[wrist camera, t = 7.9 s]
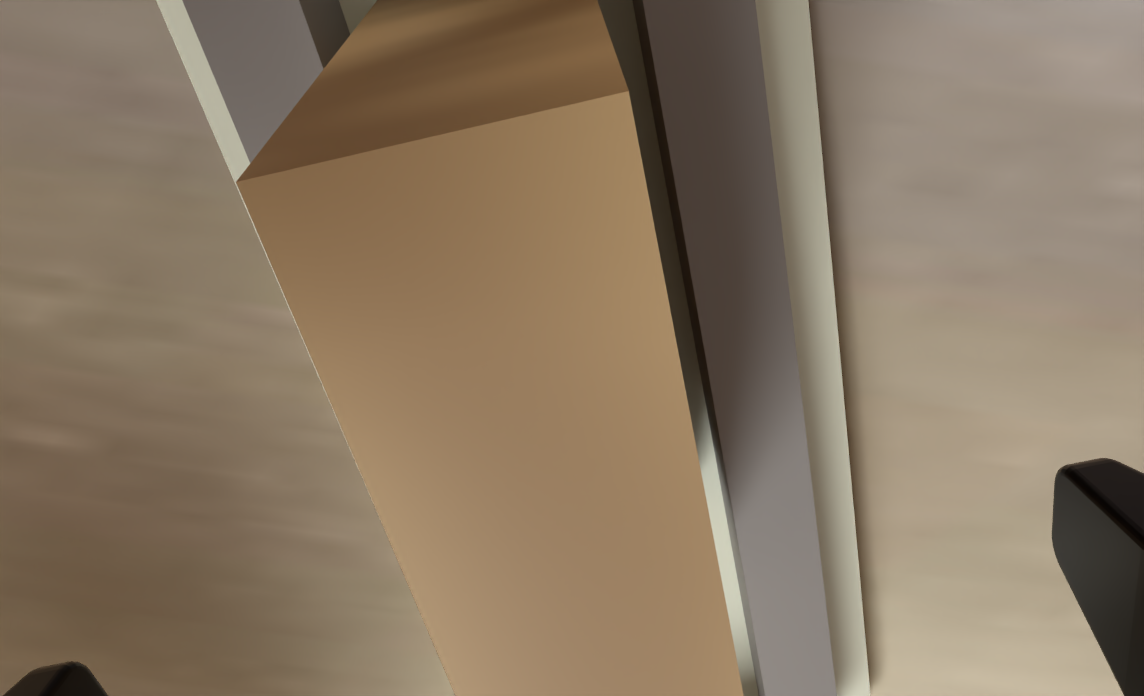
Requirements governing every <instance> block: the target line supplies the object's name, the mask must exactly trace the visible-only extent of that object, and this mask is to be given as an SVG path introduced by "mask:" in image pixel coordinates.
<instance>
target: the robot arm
mask: <svg viewBox="0 0 1144 696" xmlns="http://www.w3.org/2000/svg"><path fill="white" fill-rule="evenodd" d="M1052 542H1053V548H1054V552H1055V555H1056V558H1057V561H1058V563H1059V565H1060V567H1061V569H1062V571H1063V573H1064V575H1065V577H1066V579H1067V581H1068V583H1069V585H1070V587H1071V589H1072V591H1073V593H1074V595H1075V598H1076V600H1077V602H1078V604H1079V606H1080V608H1081V610H1082V612H1083V614H1084V616H1085V618H1086V620H1087V622H1088V624H1089V626H1090V628H1091V630H1092V632H1093V634H1094V636H1095V638H1096V640H1097V642H1098V644H1099V646H1100V648H1101V650H1102V652H1103V654H1104V656H1105V658H1106V660H1107V662H1108V664H1109V666H1110V668H1111V670H1112V672H1113V674H1114V676H1115V678H1116V680H1117V682H1118V684H1119V686H1120V688H1121V690H1122V692H1123V694H1124V696H1144V473H1142V472H1140V471H1137V470H1135V469H1133V468H1131V467H1129V466H1127V465H1125V464H1122V463H1120V462H1118V461H1115V460H1113V459H1108V458H1099V459H1094V460H1089V461H1084V462H1079V463H1074V464H1069V465H1065V466H1063V467H1062V468H1060V469H1059V470H1058V472H1057V474H1056V477H1055V485H1054V504H1053V523H1052ZM3 696H108V695H107V693H106V692H105V691H104V689H103V688H102V686H101V685H100V684H99V682H98V681H97V679H96V678H95V677H94V675H93V674H92V672H91V671H90V670H89V669H88V668H87V667H86V666H85V665H83V664H81V663H79V662H73V661H71V662H65V663H60V664H55V665H50V666H45V667H41V668H38V669H35V670H33V671H31V672H30V673H28V674H27V675H26V676H25V677H23V678H22V679H21V680H20V681H19V682H18V683H17V684H16V685H14V686H13V687H12V688H11V689H10V690H9V691H8V692H6V693H5V694H4V695H3Z"/></svg>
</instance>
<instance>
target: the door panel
mask: <svg viewBox="0 0 1144 696" xmlns="http://www.w3.org/2000/svg"><path fill="white" fill-rule="evenodd" d="M236 184H237V186H238V188H239V191H240V193H241V195H242V198H243V200H244V202H245V205H246V207H247V209H248V212H249V214H250V216H251V219H252V221H253V223H254V226H255V228H256V230H257V233H258V235H259V237H260V240H261V242H262V244H263V247H264V249H265V251H266V254H267V256H268V258H269V261H270V263H271V265H272V268H273V270H274V272H275V275H276V277H277V279H278V282H279V284H280V286H281V289H282V291H283V293H284V296H285V298H286V301H287V303H288V305H289V308H290V310H291V312H292V315H293V317H294V319H295V322H296V324H297V326H298V329H299V331H300V333H301V336H302V338H303V340H304V343H305V345H306V347H307V350H308V352H309V354H310V357H311V359H312V361H313V364H314V366H315V368H316V371H317V373H318V375H319V378H320V380H321V382H322V385H323V387H324V389H325V392H326V394H327V396H328V399H329V401H330V403H331V406H332V408H333V410H334V413H335V415H336V417H337V420H338V422H339V424H340V427H341V429H342V431H343V434H344V436H345V438H346V441H347V443H348V446H349V448H350V450H351V453H352V455H353V457H354V460H355V462H356V464H357V467H358V469H359V471H360V474H361V476H362V478H363V481H364V483H365V485H366V488H367V490H368V492H369V495H370V497H371V499H372V502H373V504H374V506H375V509H376V511H377V513H378V516H379V518H380V520H381V523H382V525H383V527H384V530H385V532H386V534H387V537H388V539H389V541H390V544H391V546H392V548H393V551H394V553H395V555H396V558H397V560H398V562H399V565H400V567H401V569H402V572H403V574H404V576H405V579H406V581H407V583H408V586H409V588H410V591H411V593H412V595H413V598H414V600H415V602H416V605H417V607H418V609H419V612H420V614H421V616H422V619H423V621H424V623H425V626H426V628H427V630H428V633H429V635H430V637H431V640H432V642H433V644H434V647H435V649H436V651H437V654H438V656H439V658H440V661H441V663H442V665H443V668H444V670H445V672H446V675H447V677H448V679H449V682H450V684H451V686H452V689H453V691H454V693H455V696H744V695H743V690H742V684H741V679H740V674H739V669H738V663H737V658H736V653H735V648H734V642H733V637H732V632H731V627H730V621H729V616H728V611H727V606H726V600H725V595H724V590H723V584H722V579H721V574H720V569H719V563H718V558H717V553H716V548H715V542H714V537H713V532H712V527H711V521H710V516H709V511H708V505H707V500H706V495H705V490H704V484H703V479H702V474H701V469H700V463H699V458H698V453H697V448H696V442H695V437H694V432H693V427H692V421H691V416H690V411H689V405H688V400H687V395H686V390H685V384H684V379H683V374H682V369H681V363H680V358H679V353H678V348H677V342H676V337H675V332H674V327H673V321H672V316H671V311H670V305H669V300H668V295H667V290H666V284H665V279H664V274H663V269H662V263H661V258H660V253H659V248H658V242H657V237H656V232H655V226H654V221H653V216H652V211H651V205H650V200H649V195H648V190H647V184H646V179H645V174H644V169H643V163H642V158H641V153H640V148H639V142H638V137H637V132H636V126H635V121H634V116H633V111H632V105H631V100H630V95H629V90H628V87H627V85H626V82H625V79H624V76H623V73H622V70H621V67H620V64H619V61H618V59H617V56H616V53H615V50H614V47H613V44H612V41H611V38H610V36H609V33H608V30H607V27H606V24H605V21H604V18H603V15H602V12H601V10H600V7H599V4H598V1H597V0H377V1H376V2H375V4H374V5H373V6H372V8H371V9H370V10H369V11H368V13H367V14H366V15H365V17H364V18H363V19H362V20H361V22H360V23H359V24H358V26H357V27H356V28H355V29H354V31H353V32H352V33H351V35H350V36H349V37H348V38H347V40H346V41H345V42H344V44H343V45H342V46H341V47H340V49H339V50H338V51H337V53H336V54H335V55H334V56H333V58H332V59H331V60H330V62H329V63H328V64H327V66H326V67H325V68H324V69H323V71H322V72H321V73H320V75H319V76H318V77H317V78H316V80H315V81H314V82H313V84H312V85H311V86H310V87H309V89H308V90H307V91H306V93H305V94H304V95H303V96H302V98H301V99H300V100H299V102H298V103H297V104H296V105H295V107H294V108H293V109H292V111H291V112H290V113H289V114H288V116H287V117H286V118H285V120H284V121H283V122H282V123H281V125H280V126H279V127H278V129H277V130H276V131H275V132H274V134H273V135H272V136H271V138H270V139H269V140H268V141H267V143H266V144H265V145H264V147H263V148H262V149H261V150H260V152H259V153H258V154H257V156H256V157H255V158H254V159H253V161H252V162H251V163H250V165H249V166H248V167H247V168H246V170H245V171H244V172H243V174H242V175H241V176H240V177H239V179H238V180H237V181H236Z"/></svg>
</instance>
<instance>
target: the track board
mask: <svg viewBox="0 0 1144 696" xmlns="http://www.w3.org/2000/svg"><path fill="white" fill-rule="evenodd" d="M156 1H157V4H158V6H159V8H160V11H161V13H162V15H163V18H164V20H165V22H166V25H167V27H168V29H169V32H170V34H171V36H172V39H173V41H174V43H175V45H176V48H177V50H178V52H179V55H180V57H181V59H182V62H183V64H184V66H185V69H186V71H187V73H188V76H189V78H190V80H191V83H192V85H193V87H194V90H195V92H196V94H197V96H198V99H199V101H200V103H201V106H202V108H203V110H204V113H205V115H206V117H207V120H208V122H209V124H210V127H211V129H212V131H213V134H214V136H215V138H216V141H217V143H218V145H219V147H220V150H221V152H222V154H223V157H224V159H225V161H226V164H227V166H228V168H229V171H230V173H231V175H232V178H233V180H234V182H235V185H236V187H237V189H238V192H239V194H240V196H241V198H242V195H241V193H240V191H239V188H238V186H237V184H236V181H237V180H238V179H239V177H240V176H241V175H242V174H243V172H244V171H245V170H246V168H247V167H248V166H249V165H250V163H251V162H252V161H253V159H254V158H255V157H256V156H257V154H258V153H259V152H260V150H261V149H262V148H263V147H264V145H265V144H266V143H267V141H268V140H269V139H270V138H271V136H272V135H273V134H274V132H275V131H276V130H277V129H278V127H279V126H280V125H281V123H282V122H283V121H284V120H285V118H286V117H287V116H288V114H289V113H290V112H291V111H292V109H293V108H294V107H295V105H296V104H297V103H298V102H299V100H300V99H301V98H302V96H303V95H304V94H305V93H306V91H307V90H308V89H309V87H310V86H311V85H312V84H313V82H314V81H315V80H316V78H317V77H318V76H319V75H320V73H321V72H322V71H323V69H324V68H325V67H326V66H327V64H328V63H329V62H330V60H331V59H332V58H333V56H334V55H335V54H336V53H337V51H338V50H339V49H340V47H341V46H342V45H343V44H344V42H345V41H346V40H347V38H348V37H349V36H350V35H351V33H352V32H353V31H354V29H355V28H356V27H357V26H358V24H359V23H360V22H361V20H362V19H363V18H364V17H365V15H366V14H367V13H368V11H369V10H370V9H371V8H372V6H373V5H374V4H375V2H376V1H377V0H156ZM597 1H598V4H599V7H600V10H601V12H602V15H603V18H604V21H605V24H606V27H607V30H608V33H609V36H610V38H611V41H612V44H613V47H614V50H615V53H616V56H617V59H618V61H619V64H620V67H621V70H622V73H623V76H624V79H625V82H626V85H627V87H628V90H629V95H630V100H631V105H632V111H633V116H634V121H635V126H636V132H637V137H638V142H639V148H640V153H641V158H642V163H643V169H644V174H645V179H646V184H647V190H648V195H649V200H650V205H651V211H652V216H653V221H654V226H655V232H656V237H657V242H658V248H659V253H660V258H661V263H662V269H663V274H664V279H665V284H666V290H667V295H668V300H669V305H670V311H671V316H672V321H673V327H674V332H675V337H676V342H677V348H678V353H679V358H680V363H681V369H682V374H683V379H684V384H685V390H686V395H687V400H688V405H689V411H690V416H691V421H692V427H693V432H694V437H695V442H696V448H697V453H698V458H699V463H700V469H701V474H702V479H703V484H704V490H705V495H706V500H707V505H708V511H709V516H710V521H711V527H712V532H713V537H714V542H715V548H716V553H717V558H718V563H719V569H720V574H721V579H722V584H723V590H724V595H725V600H726V606H727V611H728V616H729V621H730V627H731V632H732V637H733V642H734V648H735V653H736V658H737V663H738V669H739V674H740V679H741V684H742V690H743V695H744V696H871V695H870V684H869V673H868V662H867V650H866V639H865V628H864V617H863V606H862V595H861V583H860V572H859V561H858V550H857V539H856V527H855V516H854V505H853V494H852V483H851V472H850V460H849V449H848V438H847V427H846V416H845V404H844V393H843V382H842V371H841V360H840V349H839V337H838V326H837V315H836V304H835V293H834V281H833V270H832V259H831V248H830V237H829V226H828V214H827V203H826V192H825V181H824V170H823V158H822V147H821V136H820V125H819V114H818V103H817V91H816V80H815V69H814V58H813V47H812V35H811V24H810V13H809V2H808V0H597ZM242 201H243V203H244V205H245V202H244V200H243V198H242ZM245 208H246V210H247V212H248V209H247V207H246V205H245ZM248 215H249V217H250V219H251V216H250V214H249V212H248ZM251 222H252V224H253V226H254V223H253V221H252V219H251ZM254 229H255V231H256V233H257V230H256V228H255V226H254ZM257 236H258V238H259V240H260V237H259V235H258V233H257ZM260 243H261V245H262V247H263V244H262V242H261V240H260ZM263 249H264V247H263ZM264 252H265V254H266V251H265V249H264ZM266 256H267V254H266ZM267 259H268V261H269V258H268V256H267ZM269 263H270V261H269ZM270 266H271V268H272V265H271V263H270ZM272 270H273V268H272ZM273 273H274V275H275V272H274V270H273ZM275 277H276V275H275ZM276 280H277V282H278V279H277V277H276ZM278 284H279V282H278ZM279 287H280V289H281V286H280V284H279ZM281 291H282V289H281ZM282 294H283V296H284V293H283V291H282ZM284 298H285V296H284ZM285 300H286V298H285ZM286 303H287V301H286ZM287 305H288V303H287ZM288 307H289V305H288ZM289 310H290V308H289ZM290 312H291V310H290ZM291 314H292V312H291ZM292 317H293V315H292ZM293 319H294V317H293ZM294 321H295V319H294ZM295 324H296V322H295ZM296 326H297V324H296ZM297 328H298V326H297ZM298 331H299V329H298ZM299 333H300V331H299ZM300 335H301V333H300ZM301 338H302V336H301ZM302 340H303V338H302ZM303 342H304V340H303ZM304 345H305V343H304ZM305 347H306V345H305ZM306 349H307V347H306ZM307 351H308V350H307ZM308 354H309V352H308ZM309 356H310V354H309ZM310 358H311V357H310ZM311 361H312V359H311ZM312 363H313V361H312ZM313 365H314V364H313ZM314 368H315V366H314ZM315 370H316V368H315ZM316 372H317V371H316ZM317 375H318V373H317ZM318 377H319V375H318ZM319 379H320V378H319ZM320 382H321V380H320ZM321 384H322V382H321ZM322 386H323V385H322ZM323 389H324V387H323ZM324 391H325V389H324ZM325 393H326V392H325ZM326 396H327V394H326ZM327 398H328V396H327ZM328 400H329V399H328ZM329 402H330V401H329ZM330 405H331V403H330ZM331 407H332V406H331ZM332 409H333V408H332ZM333 412H334V410H333ZM334 414H335V413H334ZM335 416H336V415H335ZM336 419H337V417H336ZM337 421H338V420H337ZM338 423H339V422H338ZM339 426H340V424H339ZM340 428H341V427H340ZM341 430H342V429H341ZM342 433H343V431H342ZM343 435H344V434H343ZM344 437H345V436H344ZM345 440H346V438H345ZM346 442H347V441H346ZM347 444H348V443H347ZM348 447H349V446H348ZM349 449H350V448H349ZM350 451H351V450H350ZM352 456H353V455H352ZM353 458H354V457H353ZM355 463H356V462H355ZM356 465H357V464H356ZM358 470H359V469H358ZM359 472H360V471H359ZM361 477H362V476H361ZM362 479H363V478H362ZM364 484H365V483H364ZM365 486H366V485H365ZM367 491H368V490H367ZM368 493H369V492H368ZM370 498H371V497H370ZM371 500H372V499H371ZM374 507H375V506H374ZM377 514H378V513H377ZM380 521H381V520H380ZM383 528H384V527H383ZM386 535H387V534H386ZM389 542H390V541H389ZM392 549H393V548H392Z"/></svg>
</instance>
